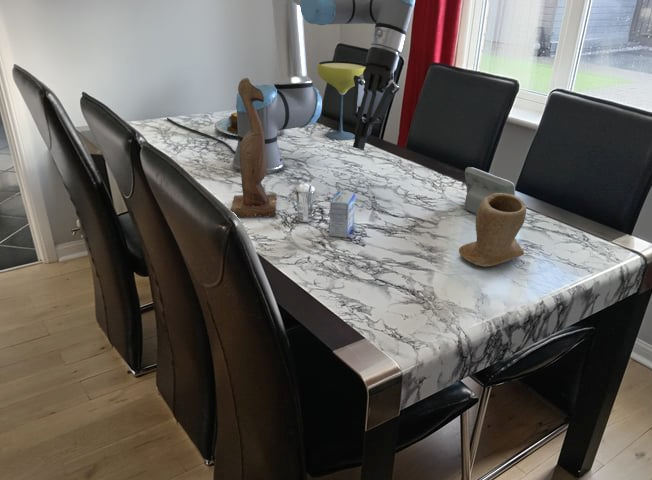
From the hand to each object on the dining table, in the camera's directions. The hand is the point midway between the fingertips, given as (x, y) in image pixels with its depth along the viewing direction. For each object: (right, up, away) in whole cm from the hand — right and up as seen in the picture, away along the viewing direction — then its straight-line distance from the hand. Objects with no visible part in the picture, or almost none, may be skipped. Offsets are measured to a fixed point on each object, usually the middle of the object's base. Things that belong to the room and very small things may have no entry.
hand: (358, 148), depth 143 cm
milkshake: (-13, -18, 0) cm, 22 cm away
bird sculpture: (-26, -15, +4) cm, 30 cm away
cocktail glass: (-6, +22, +71) cm, 75 cm away
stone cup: (+30, -28, -14) cm, 44 cm away
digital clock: (+35, -14, +12) cm, 39 cm away
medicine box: (-4, -21, -5) cm, 22 cm away
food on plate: (-39, +23, +70) cm, 83 cm away
